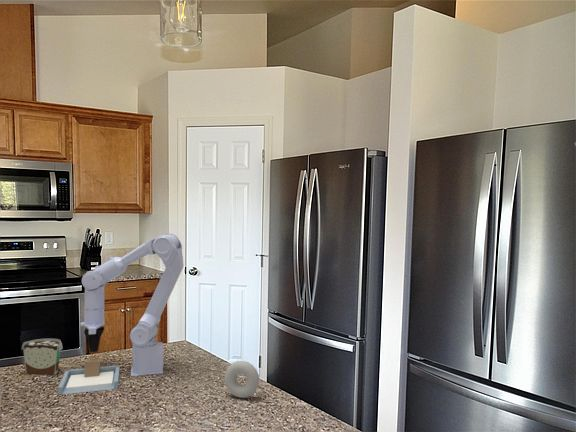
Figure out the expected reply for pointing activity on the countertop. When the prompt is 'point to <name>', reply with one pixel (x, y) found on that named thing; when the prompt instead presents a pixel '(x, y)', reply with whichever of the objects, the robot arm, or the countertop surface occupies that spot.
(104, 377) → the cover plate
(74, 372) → the open box
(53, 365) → the food container
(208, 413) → the countertop surface
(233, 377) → the donut
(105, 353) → the countertop surface
